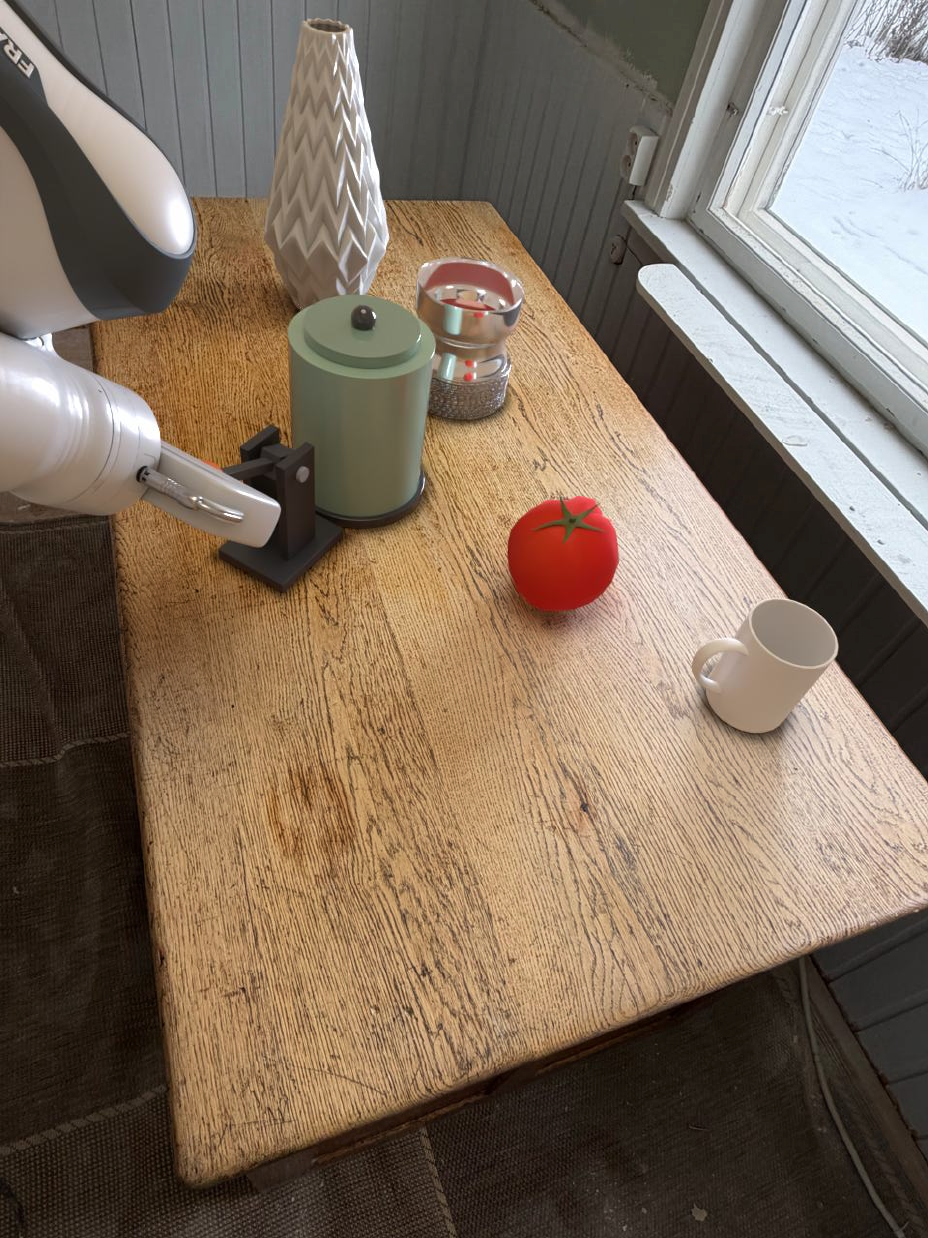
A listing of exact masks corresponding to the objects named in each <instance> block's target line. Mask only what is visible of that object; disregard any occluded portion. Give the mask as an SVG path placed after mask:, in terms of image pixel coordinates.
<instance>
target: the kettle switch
mask: <svg viewBox="0 0 928 1238" xmlns="http://www.w3.org/2000/svg"><path fill="white" fill-rule="evenodd" d="M293 451H295V450H293V449H292V447H289V446H287V445H285V444H283V443H281V442H280V443H279V444H275V445H270V446H266V447H262V450H261V455H260V459H256V460H252V461H248V462H244V463H241V462H240V463H236V464H233V465H232V464H231V465H228V466H224V467H220V466H219V465H218V464H216V463H215V462H213V461H212V460H209V459H203V458H200V459H199V458H198V459H199V460H200V461H202V462H204V463H206V464H208V465H210V466H212V467H214V468H216V469H217V470H219V471H221V472H223V473H225V474H227V475H229V476H231V477H233V478H234V479H236V480H238V481H240V482H241V481H243V480H244V479H248V478H251V477H255V476H258V475H262V474H263V475H265V476H267V477H269V478H271V479H273V480H275V481H276V467H275V466H276V464H278V463H279V462H280V461H282V460H283V459H284V458H286V457H287V456H288V455H289V454H291V453H292V452H293Z"/></svg>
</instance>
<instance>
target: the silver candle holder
mask: <svg viewBox="0 0 928 1238" xmlns="http://www.w3.org/2000/svg"><path fill="white" fill-rule="evenodd" d="M415 287H416V288H415V295H414V307H415V313H416V316H417V317H418V318H419V319H421V320H422V321H423V322H424V323H425V324H426V325H427V326H428V327H429V329H430V330H431V332H432V333H433V335H434V338H435V344H436V347H435V355H434V364H433V372H432V380H431V388H430V397H429V405H428V414H432V415H434V416H436V417H439V418H442V419H446V420H453V421H475V420H481V419H485V418H487V417H489V416H492V415H494V414H495V413H497V411H499V410H500V409H501V408H502V406H503V404H504V401H505V396H506V392H507V388H508V382H509V377H510V372H511V367H512V359H511V356H510V354H509V352H508V350H507V346H506V342H507V339H508V338H509V337H510V336H511V334H513V332H514V331H515V330H516V328H517V326H518V324H519V321H520V318H521V312H522V308H523V303H524V299H525V288H524V285H523V283H522V281H521V279H519V277H518V276H516V274H514V273H512V272H511V271H510V270H508V269H506V268H505V267H503V266H501V265H499V264H496V263H494V262H491V261H488V260H484V259H480V258H474V257H466V256H447V257H440V258H436V259H433V260H431V261H429V262H427V263H424V265H422V267H421V268H420V269H419V271H418V272H417V276H416V286H415Z"/></svg>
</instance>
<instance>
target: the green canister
mask: <svg viewBox="0 0 928 1238" xmlns="http://www.w3.org/2000/svg"><path fill="white" fill-rule="evenodd" d="M286 334H287V335H286V336H287V359H288V360H287V361H288V385H289V386H288V387H289V409H290V410H289V413H290V439H291V449H293V450H296V449H297V448H298V447H300V446H301V445H302V444H304V443H305V442H308V443H310V444H312V445H314V451H315V514H317V515H318V516H320V517H322V518H324V519H326V520H328V521H330V522H332V523H334V524H336V525H337V526H339V527H341V528H347V529H373V528H379V527H383V526H388V525H391V524H393V523H397V522H398V521H400V520H402V519H404V518H405V517H407V516H409V514H410V513H412V512H413V511H414V510H415V509H416V508H417V507H418V505H419V504H420V502H421V500H422V497H423V494H424V489H425V482H426V481H425V473H424V469H423V467H422V461H423V453H424V445H425V437H426V428H427V421H428V414H429V412H428V405H429V397H430V388H431V380H432V372H433V364H434V355H435V347H436V344H435V338H434V335H433V333H432V332H431V330H430V329H429V327H428V326H427V325H426V324H425V323H424V322H423V321H422V320H421V319H419V318H418V315H415V314H413V313H412V312H411V311H410V310H408V309H407V308H406V307H404V306H402V305H400V304H398V303H396V302H394V301H391V300H388V299H385V298H381V297H378V296H373V295H367V294H365V295H340V296H334V297H330V298H326V299H324V300H321V301H319V302H317V303H315V304H314V305H311V306H309V307H307V308H305V309H303V310H302V311H300V310H299V311H298V313H296V314H295V315H294V316H293V318H292V319H291V320H290V322H289V325H288V327H287V333H286Z"/></svg>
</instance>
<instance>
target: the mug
mask: <svg viewBox="0 0 928 1238" xmlns="http://www.w3.org/2000/svg"><path fill="white" fill-rule="evenodd" d="M838 652H839V642H838V637H837V635H836V633H835V630H834V629H833V627H832V626H831V625H830V624H829V622H828V621H827V620H826V619H825V618H824V617H823V616H822V615H820V614H819V613H818V612H817V611H815V610H814V609H812V608H810V607H809V606H808V605H806V604H804V603H801V602H798V601H796V600H793V599H788V598H783V597H771V598H766V599H763V600H760V601H759V602H757V603H755V605H754V606H753V607H752V608H751V609H750V611H749V612H748V614H747V615H746V617H745V618H744V620H743V622H742V623H741V624H740V626H739V628H738V629H737V631H736V632H735V634H734V636H733V637H732V638H731V637H718V638H715V639H712V640H709V641H708V642H705V643H704V644H703V645H702V646H701V647H700V648H699V649H698V650H696V652H695V654H694V656H693V658H692V660H691V661H692V662H691V672H692V675H693V676H694V679H695V680H696V682H697V684H699V685H700V686H701V687H702V688H704V689H705V696H706V699H707V702H708V704H709V706H710V707H711V709H712V711H713V712H714V714H716V715H717V717H719V718H720V719H721V720H722V721H723V722H725V723H726V724H728V726H730V727H733V728H734V729H736V730H739V731H741V732H745V733H751V734H764V733H767V732H771V731H774V730H775V729H777V728H778V727H780V726H781V725H782V723H783V722H784V721H785V720H786V718H788V716H789V715H790V714H791V713H792V711H793V710H794V709H795V707H796V706H797V705H798V704H799V703H800V702H801V701H802V699H803V698H804V697H805V695H806V694H808V692H809V691H810V690H811V688H812V687H813V686H814V685H815V684H816V682H817V681H818V680H819V679H820V677H821V676H822V675H823V674H824V673H825V671H827V669H829V667H830V666H831V664H832V663H833V662H834V661H835V659H836V657H837V656H838ZM721 653H722V654H721ZM719 654H721V655H720V657H719V659H718V660H717V662H716V663H715V665H714V667H713V668H712V670H711V671H710V673H709V674H708V676H707V677H706V676H704V675H703V674H702V669H703V667H704V665H705V664H706V663H707V661H709V660H710V659H711V658H712V657H714V656H716V655H719Z"/></svg>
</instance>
